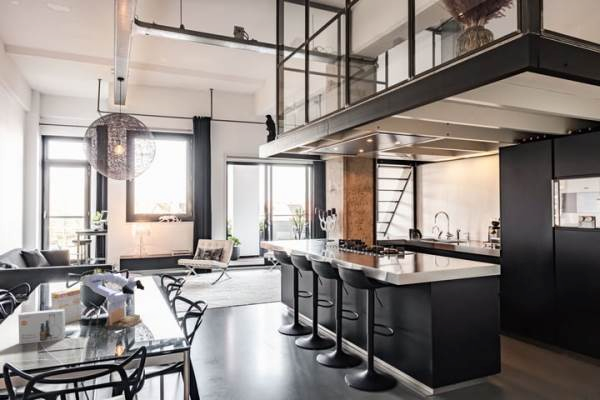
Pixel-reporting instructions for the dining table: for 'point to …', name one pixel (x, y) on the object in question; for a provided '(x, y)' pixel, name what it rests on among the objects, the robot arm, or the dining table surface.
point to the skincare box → (41, 326)
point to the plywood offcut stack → (130, 320)
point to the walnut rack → (118, 324)
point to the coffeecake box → (68, 304)
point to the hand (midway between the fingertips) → (138, 290)
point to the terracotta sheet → (116, 315)
